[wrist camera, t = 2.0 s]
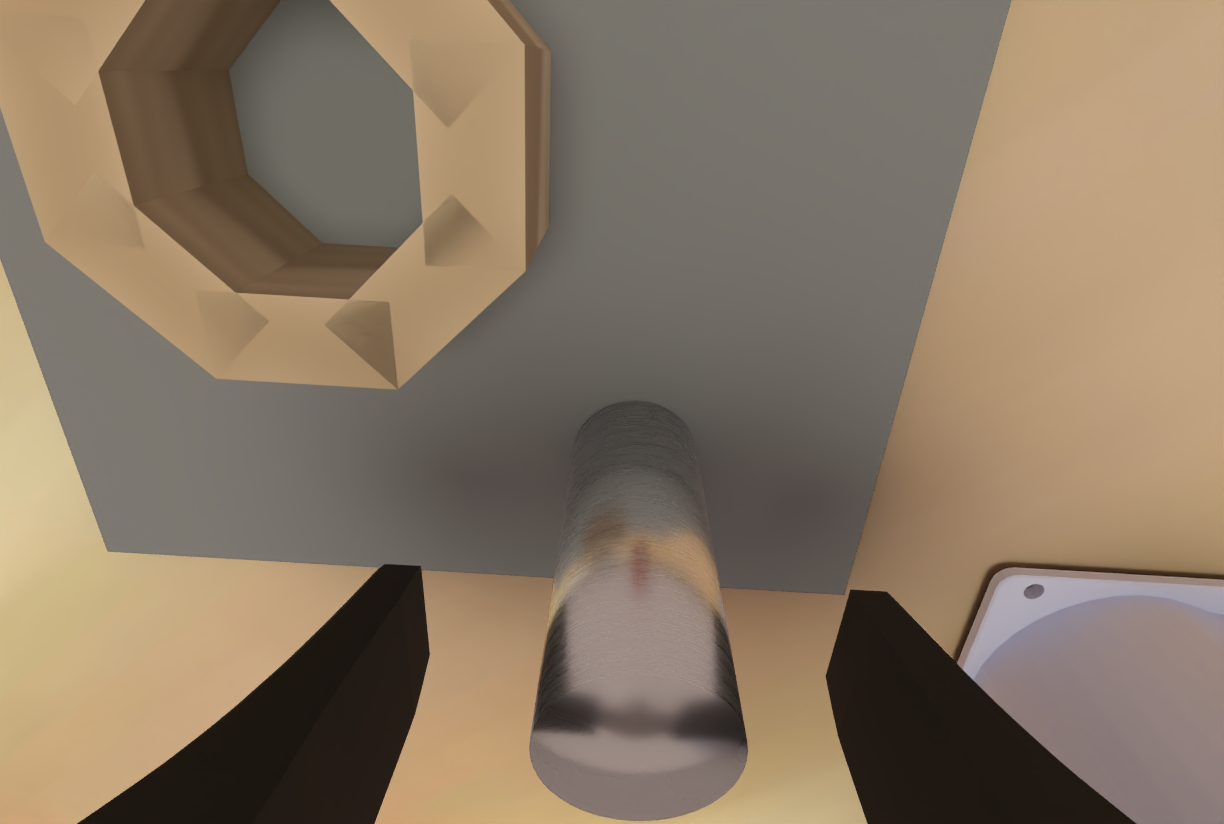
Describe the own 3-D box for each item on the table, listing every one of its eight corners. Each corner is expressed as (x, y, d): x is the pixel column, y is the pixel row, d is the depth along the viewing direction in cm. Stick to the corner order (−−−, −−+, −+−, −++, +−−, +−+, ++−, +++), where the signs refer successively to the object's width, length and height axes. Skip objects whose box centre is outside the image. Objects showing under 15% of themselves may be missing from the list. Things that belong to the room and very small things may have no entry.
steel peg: (702, 404, 16) (764, 683, 9) (689, 509, 17) (731, 826, 10) (574, 396, 16) (528, 670, 9) (571, 502, 17) (529, 814, 10)
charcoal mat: (1056, -225, 11) (1078, -239, 10) (838, 580, 19) (844, 594, 18) (-171, -303, 11) (-213, -321, 10) (122, 537, 19) (107, 551, 18)
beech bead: (553, -102, 11) (523, -164, 8) (548, 328, 15) (526, 397, 12) (98, -130, 11) (-103, -203, 8) (201, 307, 15) (87, 371, 12)
